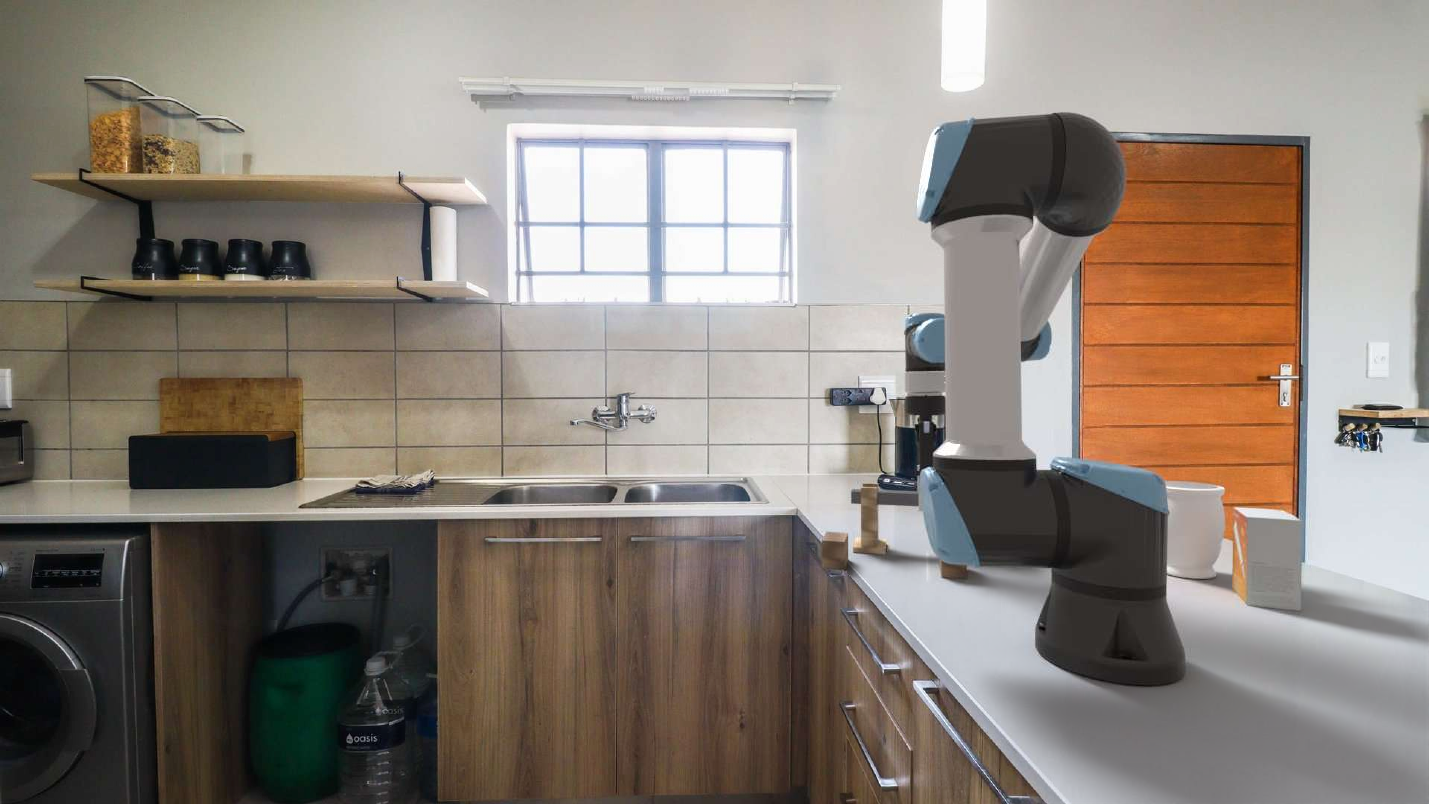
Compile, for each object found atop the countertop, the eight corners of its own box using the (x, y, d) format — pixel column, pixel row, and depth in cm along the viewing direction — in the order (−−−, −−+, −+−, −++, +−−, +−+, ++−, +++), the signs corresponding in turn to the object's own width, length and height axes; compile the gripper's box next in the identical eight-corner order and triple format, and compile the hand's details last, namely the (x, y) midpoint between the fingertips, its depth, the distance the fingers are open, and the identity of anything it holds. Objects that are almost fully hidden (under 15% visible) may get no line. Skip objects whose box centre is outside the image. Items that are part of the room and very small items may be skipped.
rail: (1003, 507, 121) (1003, 494, 121) (1005, 510, 119) (1005, 497, 119) (852, 500, 129) (852, 489, 129) (851, 503, 127) (851, 491, 127)
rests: (963, 567, 113) (963, 539, 113) (966, 578, 107) (966, 549, 107) (826, 558, 120) (826, 531, 120) (821, 568, 114) (821, 540, 113)
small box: (1231, 589, 100) (1232, 506, 100) (1283, 595, 97) (1285, 509, 97) (1245, 605, 93) (1246, 516, 93) (1302, 612, 90) (1304, 520, 90)
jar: (1151, 576, 107) (1151, 487, 106) (1143, 561, 116) (1144, 478, 116) (1231, 585, 102) (1232, 491, 102) (1216, 568, 111) (1217, 482, 111)
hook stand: (998, 550, 124) (998, 486, 124) (1004, 561, 117) (1004, 493, 116) (856, 542, 132) (855, 481, 132) (853, 552, 124) (852, 488, 124)
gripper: (950, 396, 110) (950, 518, 111) (942, 392, 134) (942, 493, 135) (905, 396, 113) (905, 516, 113) (905, 392, 136) (905, 491, 137)
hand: (925, 504), depth 124 cm, fingers open, 13 cm apart
